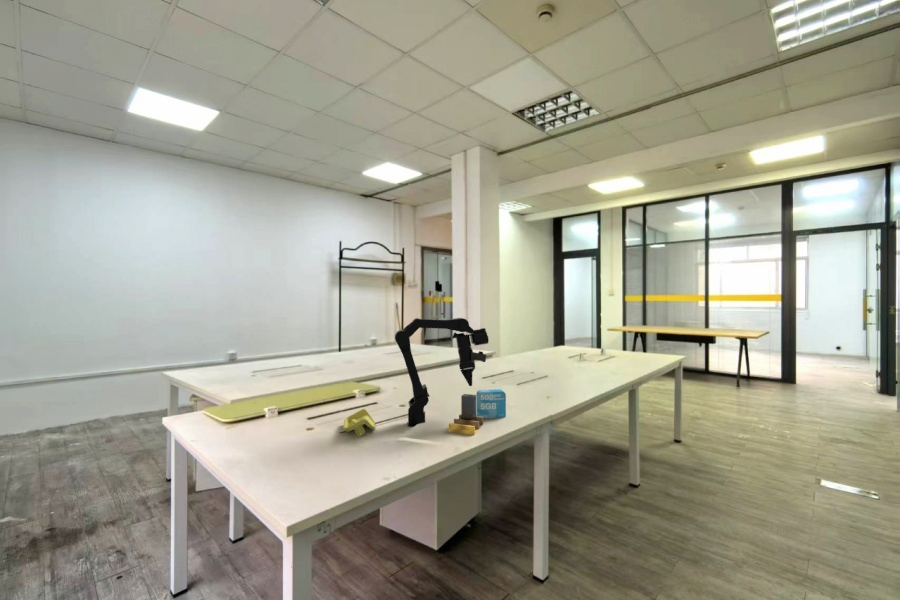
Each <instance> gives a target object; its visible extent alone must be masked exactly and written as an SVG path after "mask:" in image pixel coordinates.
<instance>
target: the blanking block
mask: <svg viewBox="0 0 900 600" xmlns="http://www.w3.org/2000/svg"><path fill="white" fill-rule="evenodd" d="M460 397H461V400H460V401H461V407H460V408H461V409H460V410H461V419H463V420H472V421H476V416H477V414H476V394H469V393H463V394H462V395H461V396H460Z"/></svg>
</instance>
